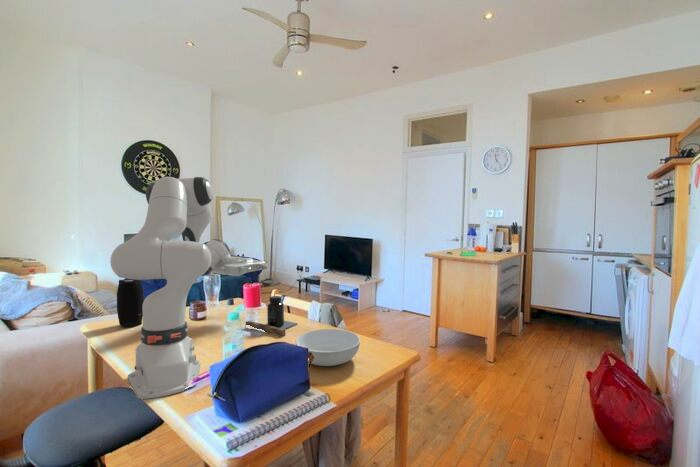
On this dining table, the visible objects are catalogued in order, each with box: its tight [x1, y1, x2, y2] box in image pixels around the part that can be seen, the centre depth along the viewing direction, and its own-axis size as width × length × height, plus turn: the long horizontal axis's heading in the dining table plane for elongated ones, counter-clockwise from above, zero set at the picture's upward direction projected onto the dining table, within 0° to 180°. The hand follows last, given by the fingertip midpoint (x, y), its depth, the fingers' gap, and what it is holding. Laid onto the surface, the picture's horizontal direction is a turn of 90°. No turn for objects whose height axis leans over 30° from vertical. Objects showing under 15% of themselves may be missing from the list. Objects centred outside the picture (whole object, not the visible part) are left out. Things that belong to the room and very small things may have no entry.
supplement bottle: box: [266, 295, 285, 327], centre depth 143 cm, size 7×7×12 cm
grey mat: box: [264, 320, 298, 331], centre depth 145 cm, size 11×11×1 cm
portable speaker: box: [116, 278, 145, 329], centre depth 143 cm, size 9×9×20 cm
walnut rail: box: [245, 320, 286, 338], centre depth 137 cm, size 20×2×2 cm, turn 60°
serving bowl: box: [295, 328, 361, 367], centre depth 111 cm, size 21×21×7 cm
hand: (258, 268), depth 149 cm, fingers open, 8 cm apart
